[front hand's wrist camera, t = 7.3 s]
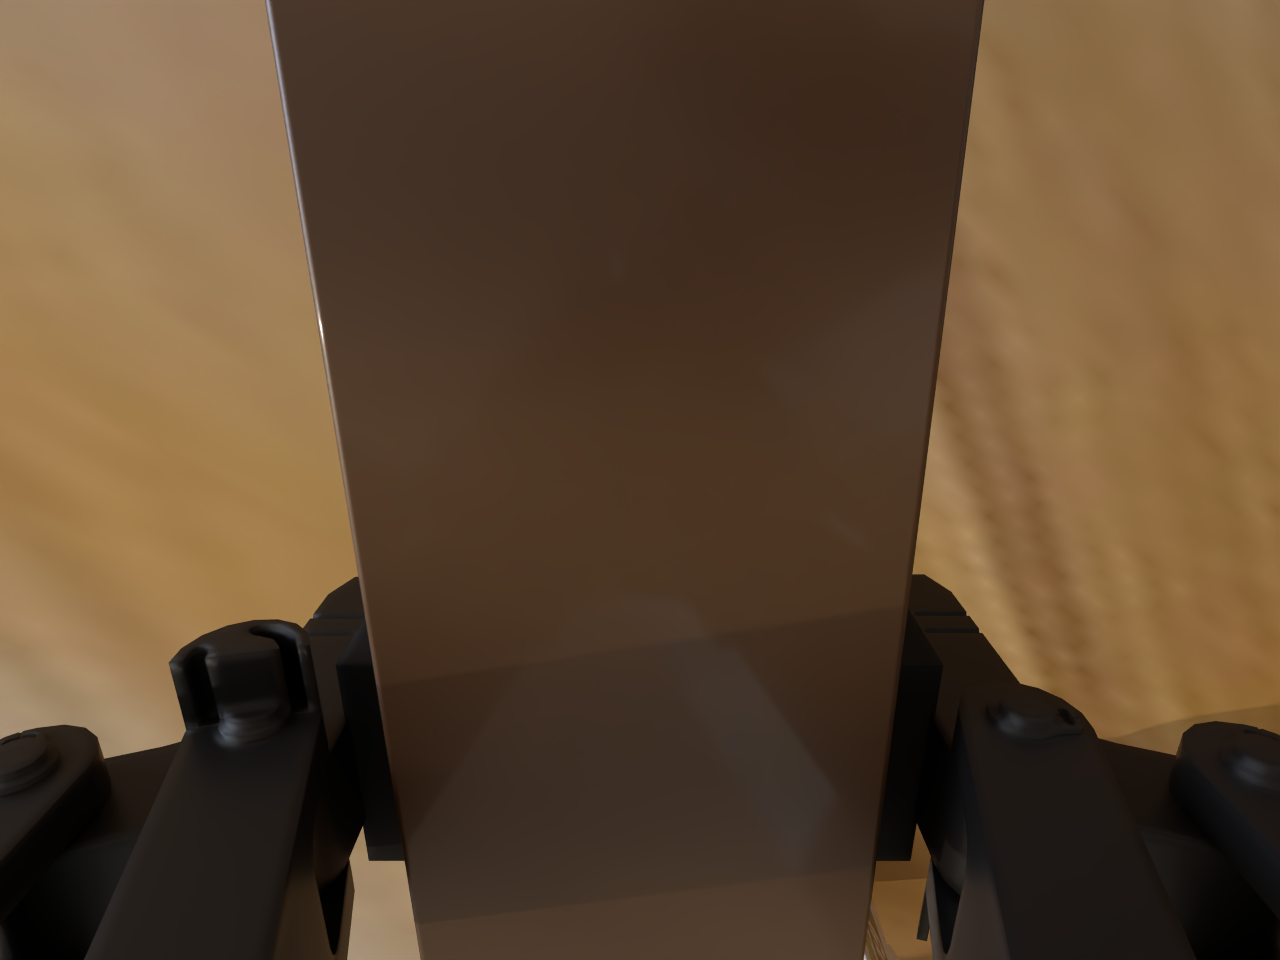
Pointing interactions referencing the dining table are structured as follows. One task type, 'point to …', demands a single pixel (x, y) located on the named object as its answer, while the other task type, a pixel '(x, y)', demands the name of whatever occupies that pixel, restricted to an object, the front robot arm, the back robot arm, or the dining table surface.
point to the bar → (632, 441)
